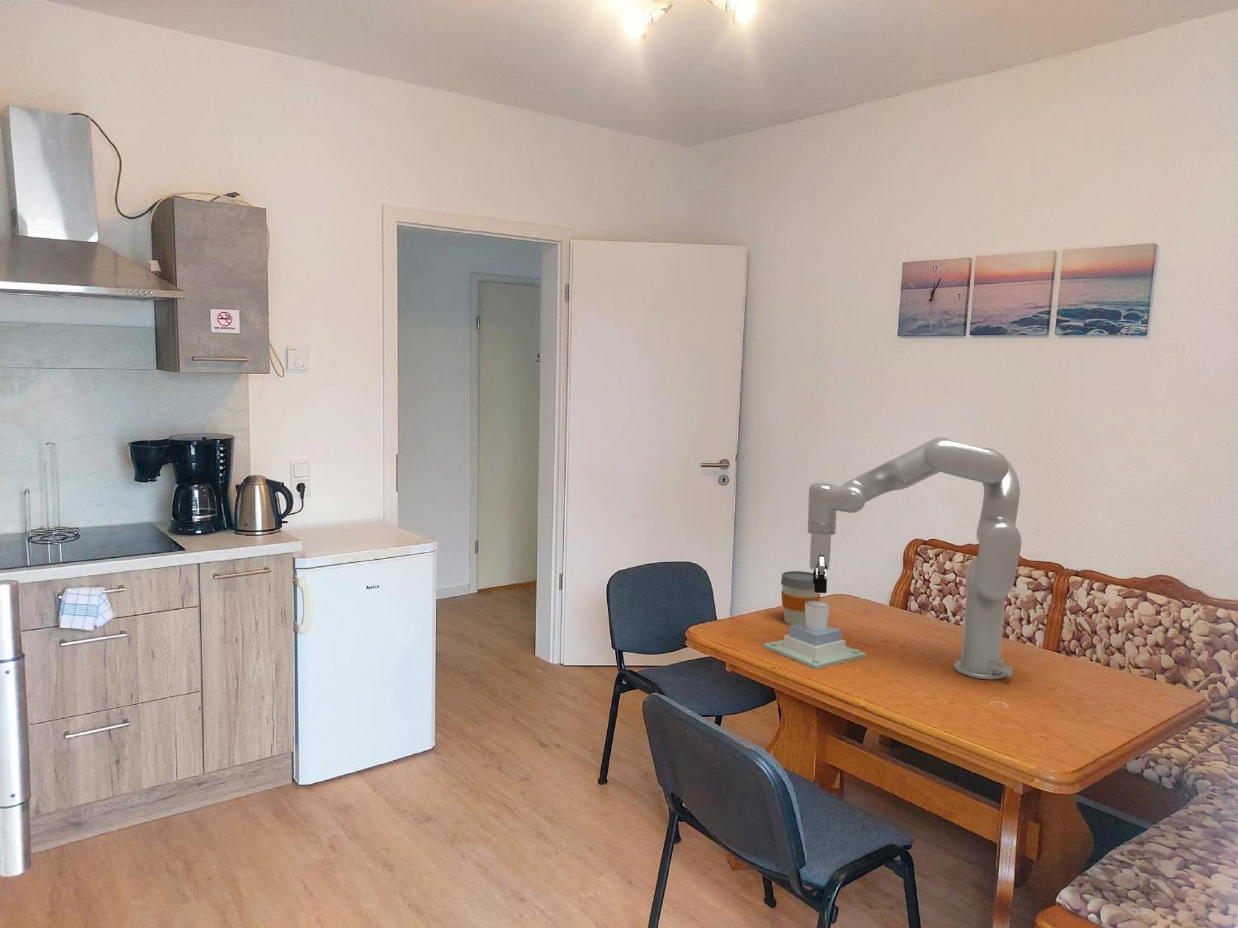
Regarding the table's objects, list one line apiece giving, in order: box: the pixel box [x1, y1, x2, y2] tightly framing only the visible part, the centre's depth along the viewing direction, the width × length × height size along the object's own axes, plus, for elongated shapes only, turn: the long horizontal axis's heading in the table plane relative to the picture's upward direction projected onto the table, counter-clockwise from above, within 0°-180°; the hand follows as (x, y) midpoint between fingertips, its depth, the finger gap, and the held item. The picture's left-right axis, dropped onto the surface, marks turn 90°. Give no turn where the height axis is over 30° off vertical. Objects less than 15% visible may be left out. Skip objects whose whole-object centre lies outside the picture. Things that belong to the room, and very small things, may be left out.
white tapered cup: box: [805, 600, 831, 631], centre depth 233 cm, size 7×7×7 cm
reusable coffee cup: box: [780, 570, 821, 626], centre depth 262 cm, size 13×13×15 cm
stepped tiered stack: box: [762, 623, 867, 670], centre depth 234 cm, size 20×20×7 cm
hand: (819, 588), depth 232 cm, fingers open, 9 cm apart
